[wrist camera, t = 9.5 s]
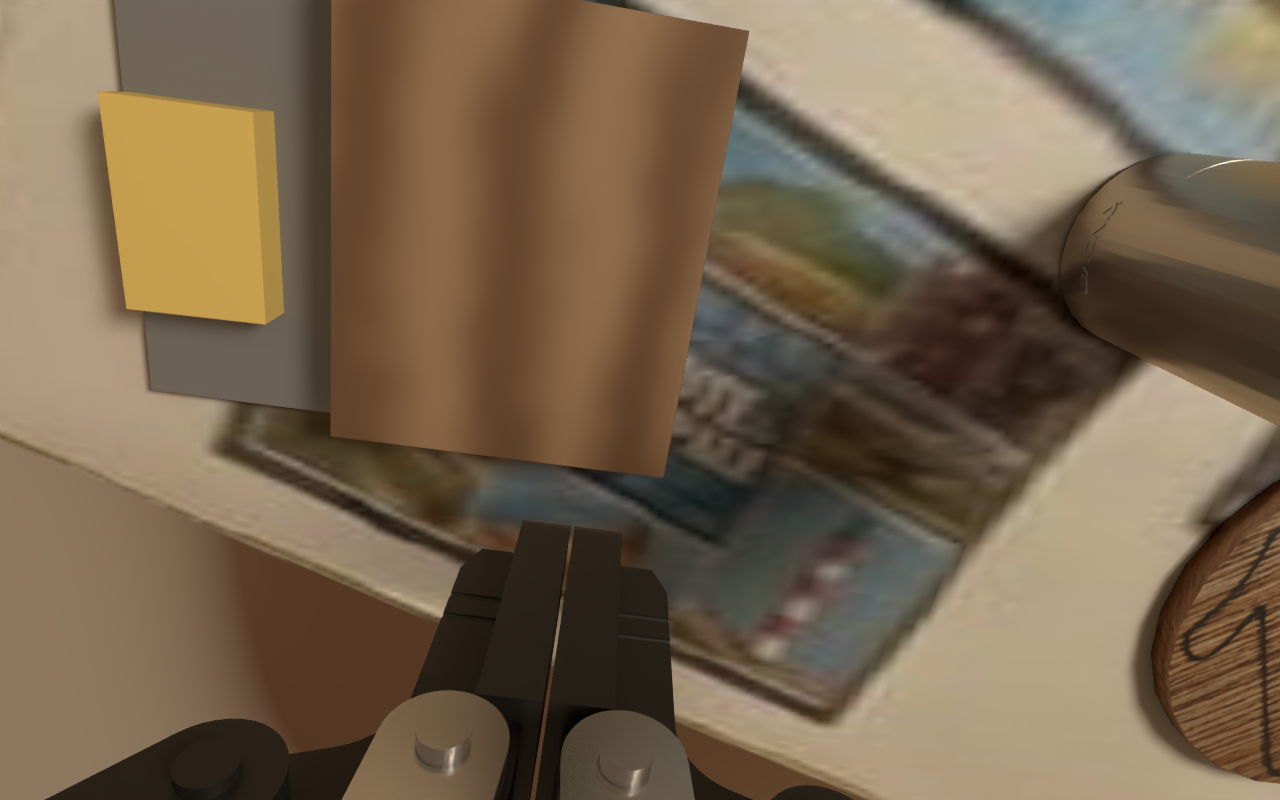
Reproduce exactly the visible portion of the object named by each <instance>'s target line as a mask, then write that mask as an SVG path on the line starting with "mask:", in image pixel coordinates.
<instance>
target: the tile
mask: <svg viewBox="0 0 1280 800" xmlns="http://www.w3.org/2000/svg"><path fill="white" fill-rule="evenodd" d="M98 98H99V106H100V113H101V121H102V128H103V136H104V143H105V151H106V159H107V166H108V174H109V181H110V189H111V196H112V204H113V211H114V219H115V226H116V234H117V241H118V249H119V256H120V264H121V272H122V279H123V287H124V294H125V302H126V309H132V310H141V311H150V312H159V313H167V314H176V315H185V316H194V317H203V318H212V319H220V320H229V321H238V322H247V323H256V324H264V325H266V324H267V323H269V322H270V321H272V320H274V319H275V318H277V317H278V316H280V315H281V314H283V313H284V302H283V283H282V263H281V243H280V223H279V203H278V184H277V164H276V144H275V124H274V111H267V110H259V109H252V108H245V107H237V106H230V105H223V104H215V103H208V102H201V101H193V100H186V99H178V98H171V97H164V96H156V95H149V94H142V93H134V92H117V91H98Z"/></svg>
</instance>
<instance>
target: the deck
mask: <svg viewBox="0 0 1280 800" xmlns="http://www.w3.org/2000/svg"><path fill="white" fill-rule="evenodd" d="M748 35H749V31H746V30H741V29H735V28H730V27H724V26H719V25H713V24H708V23H702V22H697V21H691V20H686V19H680V18H675V17H669V16H664V15H658V14H653V13H647V12H642V11H636V10H631V9H625V8H620V7H615V6H609V5H604V4H598V3H593V2H587V1H582V0H331V436H332V437H340V438H348V439H356V440H364V441H372V442H380V443H388V444H396V445H404V446H412V447H420V448H428V449H436V450H444V451H452V452H460V453H468V454H476V455H484V456H492V457H500V458H508V459H516V460H524V461H532V462H540V463H548V464H556V465H563V466H571V467H579V468H587V469H595V470H603V471H611V472H619V473H627V474H635V475H643V476H651V477H659V478H664V472H665V467H666V462H667V457H668V452H669V446H670V441H671V436H672V431H673V425H674V420H675V415H676V410H677V405H678V399H679V394H680V389H681V384H682V379H683V373H684V368H685V363H686V358H687V353H688V347H689V342H690V337H691V332H692V327H693V321H694V316H695V311H696V306H697V301H698V295H699V290H700V285H701V280H702V275H703V269H704V264H705V259H706V254H707V249H708V243H709V238H710V233H711V228H712V222H713V217H714V212H715V207H716V202H717V196H718V191H719V186H720V181H721V176H722V170H723V165H724V160H725V155H726V150H727V144H728V139H729V134H730V129H731V124H732V118H733V113H734V108H735V103H736V98H737V92H738V87H739V82H740V77H741V72H742V66H743V61H744V56H745V51H746V46H747V40H748Z"/></svg>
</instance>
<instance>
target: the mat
mask: <svg viewBox="0 0 1280 800" xmlns="http://www.w3.org/2000/svg"><path fill="white" fill-rule="evenodd" d="M114 7H115V18H116V28H117V39H118V49H119V60H120V70H121V80H122V91H123V92H134V93H142V94H149V95H156V96H164V97H171V98H178V99H186V100H193V101H201V102H208V103H215V104H223V105H230V106H237V107H245V108H252V109H259V110H267V111H274V124H275V144H276V164H277V184H278V203H279V223H280V243H281V263H282V283H283V302H284V313H283V314H281V315H280V316H278V317H277V318H275V319H274V320H272V321H270V322H269V323H267V324H266V325H264V324H256V323H247V322H238V321H229V320H220V319H212V318H203V317H194V316H185V315H176V314H167V313H159V312H150V311H144V320H145V331H146V341H147V352H148V362H149V372H150V383H151V390H155V391H162V392H170V393H178V394H186V395H194V396H201V397H209V398H217V399H225V400H233V401H240V402H248V403H256V404H264V405H272V406H279V407H287V408H295V409H303V410H311V411H319V412H326V413H331V0H114Z"/></svg>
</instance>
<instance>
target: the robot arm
mask: <svg viewBox="0 0 1280 800" xmlns="http://www.w3.org/2000/svg"><path fill="white" fill-rule="evenodd" d="M1060 280H1061V286H1062V292H1063V297H1064V299H1065V301H1066V304H1067V306H1068V308H1069V311H1070V313H1071V314H1072V315H1073V316H1074V318H1075V319H1076V320H1077V321H1078V322H1079V324H1080V325H1081V326H1083V327H1084V328H1085V329H1087V330H1088V331H1089V332H1091V333H1092V334H1094V335H1095V336H1097V337H1099V338H1101V339H1103V340H1105V341H1107V342H1110V343H1112V344H1114V345H1116V346H1118V347H1120V348H1122V349H1124V350H1126V351H1128V352H1130V353H1132V354H1134V355H1136V356H1138V357H1140V358H1142V359H1144V360H1145V361H1147V362H1149V363H1151V364H1153V365H1155V366H1157V367H1159V368H1162V369H1164V370H1166V371H1168V372H1170V373H1172V374H1174V375H1176V376H1178V377H1180V378H1182V379H1184V380H1186V381H1188V382H1190V383H1192V384H1194V385H1196V386H1198V387H1200V388H1202V389H1204V390H1206V391H1208V392H1210V393H1212V394H1214V395H1216V396H1218V397H1220V398H1222V399H1224V400H1227V401H1229V402H1231V403H1233V404H1235V405H1237V406H1239V407H1241V408H1243V409H1245V410H1247V411H1249V412H1251V413H1253V414H1255V415H1257V416H1259V417H1261V418H1263V419H1265V420H1267V421H1269V422H1271V423H1273V424H1275V425H1277V426H1279V427H1280V162H1269V161H1262V160H1253V159H1243V158H1232V157H1222V156H1212V155H1201V154H1191V153H1183V154H1166V155H1163V156H1159V157H1155V158H1151V159H1147V160H1145V161H1143V162H1140V163H1138V164H1136V165H1134V166H1132V167H1130V168H1128V169H1126V170H1124V171H1123V172H1121V173H1120V174H1119V175H1117V176H1116V177H1114V178H1113V179H1112V180H1110V181H1109V182H1107V183H1106V184H1105V185H1104V186H1103V187H1102V188H1101V189H1100V190H1099V191H1098V192H1097V193H1096V194H1095V195H1094V196H1093V197H1092V198H1091V199H1090V200H1089V201H1088V203H1087V204H1086V206H1085V207H1084V209H1083V210H1082V211H1081V213H1080V214H1079V216H1078V217H1077V218H1076V220H1075V222H1074V224H1073V227H1072V229H1071V231H1070V233H1069V235H1068V237H1067V240H1066V243H1065V247H1064V251H1063V254H1062V258H1061V273H1060ZM570 527H571V526H564V525H556V524H549V523H541V522H533V521H526V520H524V521H523V523H522V526H521V530H520V533H519V537H518V541H517V544H516V548H515V552H514V553H512V552H504V551H496V550H489V549H482V550H481V551H479V552H478V553H477V554H476V555H475V556H474V557H472V558H471V559H470V560H469V561H468V562H467V563H465V564H464V565H463V566H462V567H461V568H460V571H459V573H458V576H457V578H456V581H455V584H454V586H453V589H452V592H451V597H449V599H448V602H447V605H446V607H445V610H444V614H443V617H442V618H441V620H440V623H439V626H438V628H437V631H436V633H435V636H434V639H433V641H432V644H431V647H430V649H429V652H428V654H427V657H426V660H425V662H424V665H423V668H422V670H421V673H420V675H419V679H418V681H417V683H416V686H415V689H414V691H413V694H412V696H411V698H410V699H409V700H408V701H406V702H404V703H403V704H401V705H399V706H398V707H397V708H396V709H394V710H393V711H392V712H391V713H390V714H389V715H388V716H387V717H386V718H385V719H384V721H383V723H382V724H381V726H380V727H379V729H378V731H377V732H376V733H375V734H373V735H371V736H369V737H366V738H364V739H362V740H360V741H356V742H353V743H350V744H347V745H342V746H337V747H333V748H326V749H319V750H314V751H307V752H300V753H294V754H289V753H288V749H287V746H286V743H285V742H284V740H283V739H282V738H281V736H280V735H279V734H278V733H277V732H276V731H275V730H273V729H272V728H270V727H268V726H266V725H265V724H262V723H259V722H256V721H252V720H245V719H223V720H214V721H210V722H205V723H201V724H198V725H195V726H192V727H189V728H187V729H185V730H182V731H180V732H178V733H176V734H174V735H172V736H170V737H168V738H166V739H164V740H162V741H160V742H158V743H156V744H154V745H152V746H150V747H148V748H146V749H144V750H142V751H140V752H138V753H136V754H134V755H132V756H130V757H128V758H126V759H124V760H122V761H120V762H119V763H116V764H114V765H112V766H110V767H109V768H107V769H105V770H103V771H101V772H99V773H97V774H95V775H93V776H91V777H89V778H87V779H85V780H83V781H81V782H79V783H77V784H75V785H73V786H71V787H69V788H67V789H65V790H63V791H61V792H59V793H57V794H55V795H53V796H51V797H49V798H47V799H45V800H530V797H531V790H532V784H533V778H534V772H535V765H536V758H537V752H538V745H539V739H540V733H541V726H542V720H543V713H544V707H545V700H546V694H547V687H548V681H549V674H550V668H551V661H552V655H553V648H554V641H555V635H556V628H557V621H558V614H559V607H560V599H561V592H562V585H563V578H564V571H565V564H566V556H567V549H568V542H569V535H570ZM621 539H622V535H621V533H618V532H611V531H603V530H596V529H588V528H580V527H575V529H574V536H573V543H572V549H571V556H570V563H569V570H568V577H567V583H566V590H565V597H564V604H563V610H562V617H561V624H560V631H559V638H558V644H557V651H556V658H555V665H554V671H553V678H552V685H551V692H550V699H549V706H548V713H547V720H546V727H545V735H544V741H543V748H542V755H541V762H540V770H539V777H538V784H537V791H536V798H535V800H752V799H750V798H747V797H745V796H742V795H740V794H737V793H735V792H733V791H730V790H728V789H726V788H724V787H722V786H720V785H718V784H717V783H715V782H714V781H712V780H710V779H709V778H708V777H706V776H705V775H704V774H703V773H701V772H700V771H699V770H698V769H697V768H696V767H695V766H694V765H693V764H692V763H691V761H690V760H689V759H688V757H687V755H686V752H685V750H684V748H683V746H682V744H681V743H680V741H679V740H678V738H677V735H676V729H675V717H674V701H673V685H672V669H671V652H670V645H669V641H670V636H669V624H668V603H667V593H666V591H665V590H664V588H663V587H662V585H661V584H660V582H659V581H658V579H657V577H656V576H655V574H654V573H653V571H652V570H646V569H638V568H630V567H622V566H621ZM771 800H853V799H851V798H849V797H847V796H845V795H843V794H841V793H839V792H837V791H834V790H831V789H828V788H824V787H819V786H809V785H805V786H795V787H792V788H788V789H786V790H784V791H782V792H780V793H778V794H777V795H776V796H775V797H774V798H772V799H771Z"/></svg>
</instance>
